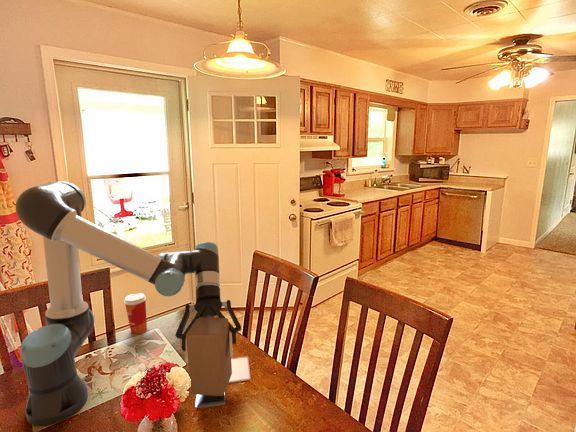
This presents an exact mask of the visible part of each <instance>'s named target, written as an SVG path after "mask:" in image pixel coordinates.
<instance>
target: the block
mask: <svg viewBox="0 0 576 432" xmlns="http://www.w3.org/2000/svg"><path fill="white" fill-rule="evenodd" d="M229 322H230V321H229V318H227V317H225V318H218V317H199V318H197V319H196V321H195V322H194V323H193V325H192V326H191V328H190V329H189V331H188V332H187V334H186V342H187V352H188V361H189V363H188V369H189V370H188V371H189V380H190V379H191V381H190V390H191V391H190V392H191V394H192V395H195V396H197V395H212V396H223V395H224V393H225V394H226V390H227V388H228V386H229V384H230V383H229V380H230V378H231V375H232V364H231V356H230V338H229V333H230V331H229Z"/></svg>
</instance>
